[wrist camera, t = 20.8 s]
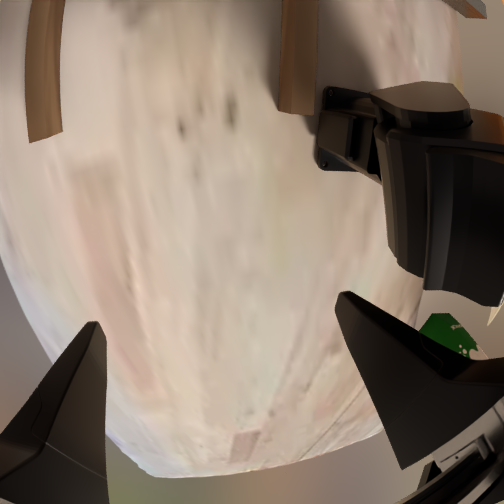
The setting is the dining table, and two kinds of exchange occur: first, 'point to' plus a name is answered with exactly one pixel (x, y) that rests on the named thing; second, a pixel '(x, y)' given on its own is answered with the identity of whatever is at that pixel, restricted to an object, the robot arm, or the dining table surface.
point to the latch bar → (469, 8)
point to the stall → (48, 63)
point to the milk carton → (452, 335)
